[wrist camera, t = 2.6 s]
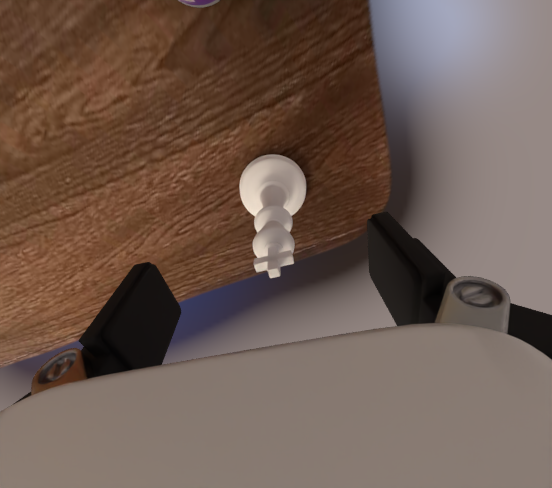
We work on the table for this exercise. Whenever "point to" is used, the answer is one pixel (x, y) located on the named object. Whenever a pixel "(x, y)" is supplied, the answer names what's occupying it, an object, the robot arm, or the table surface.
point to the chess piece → (273, 208)
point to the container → (199, 2)
